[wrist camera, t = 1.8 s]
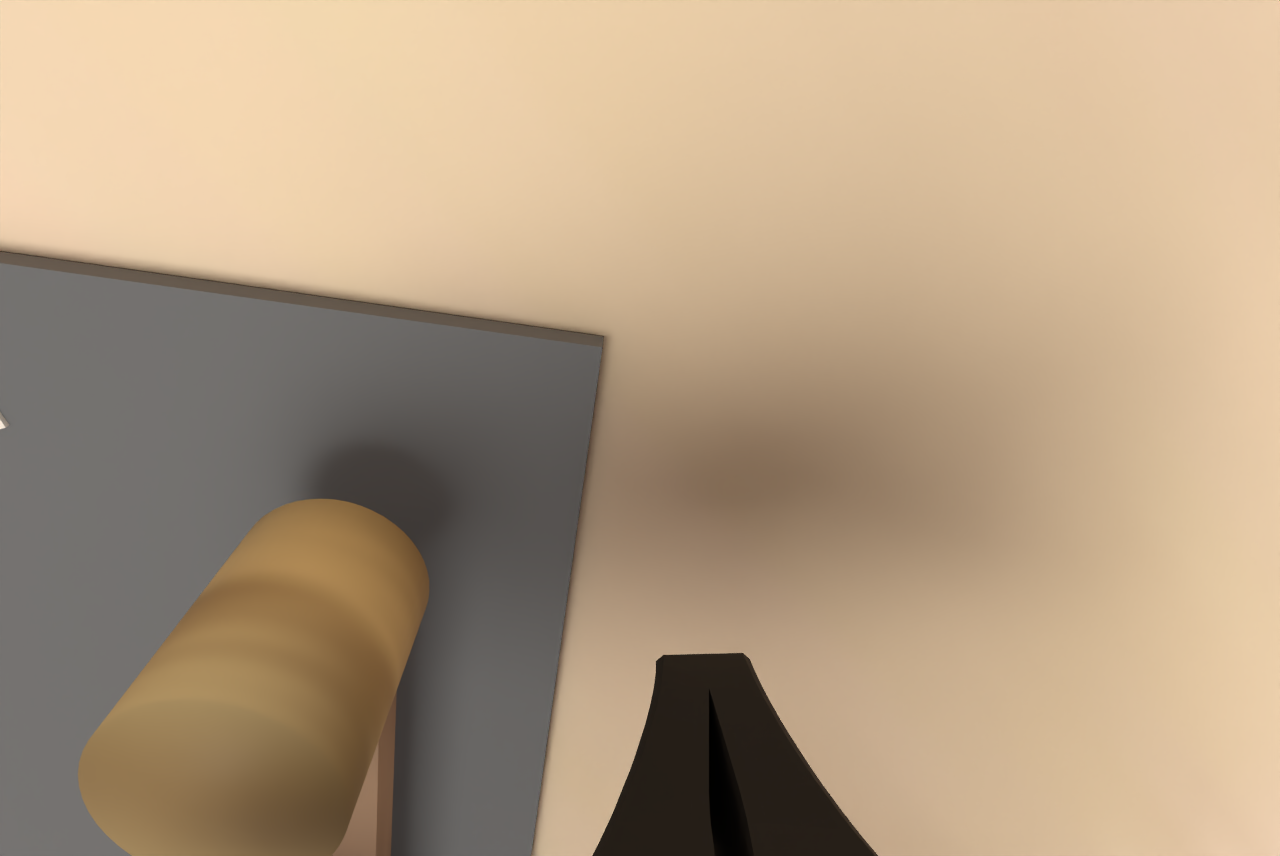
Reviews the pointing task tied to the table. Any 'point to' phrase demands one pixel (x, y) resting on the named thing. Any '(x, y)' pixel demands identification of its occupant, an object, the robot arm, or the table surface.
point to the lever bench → (262, 481)
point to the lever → (270, 699)
